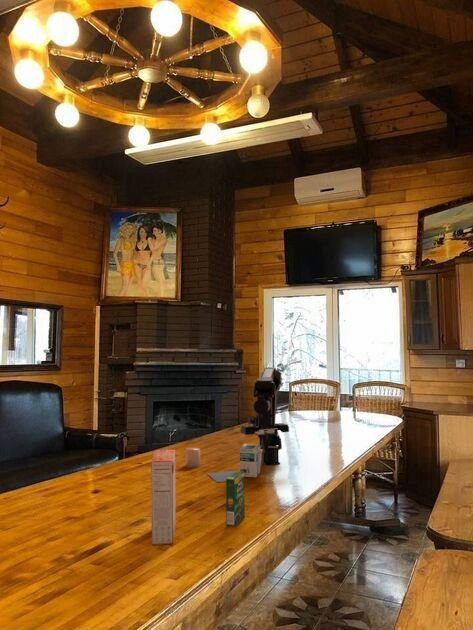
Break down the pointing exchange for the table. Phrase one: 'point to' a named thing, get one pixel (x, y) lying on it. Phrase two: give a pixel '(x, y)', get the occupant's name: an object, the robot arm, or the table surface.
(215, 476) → the mat
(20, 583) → the table surface
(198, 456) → the pink rounded capsule
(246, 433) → the robot arm
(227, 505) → the coffee box
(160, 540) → the cracker box
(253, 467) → the light bulb box
